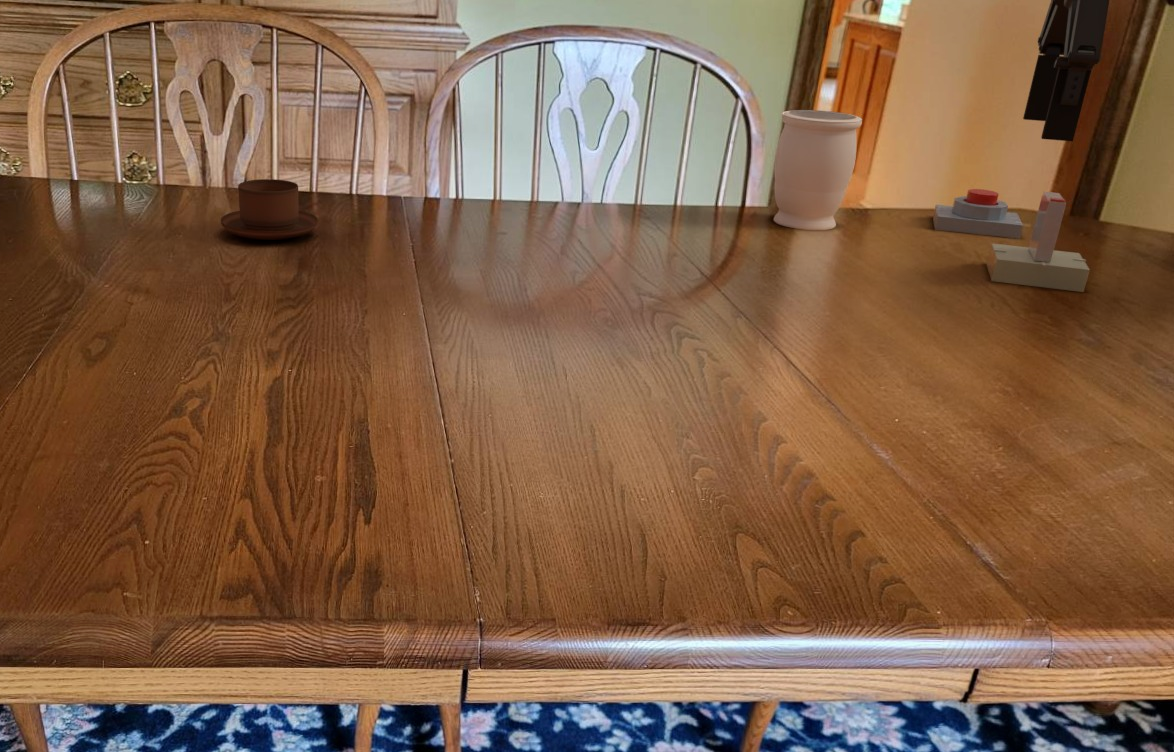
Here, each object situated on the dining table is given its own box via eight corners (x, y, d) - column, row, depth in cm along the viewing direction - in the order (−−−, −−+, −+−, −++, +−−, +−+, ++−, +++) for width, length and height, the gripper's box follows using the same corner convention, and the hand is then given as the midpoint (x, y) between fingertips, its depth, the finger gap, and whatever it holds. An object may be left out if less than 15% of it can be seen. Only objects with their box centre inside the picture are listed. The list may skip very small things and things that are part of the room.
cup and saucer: (205, 229, 140) (202, 180, 137) (289, 219, 146) (288, 172, 144) (248, 251, 131) (245, 199, 128) (335, 239, 138) (335, 190, 135)
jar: (787, 234, 149) (805, 120, 143) (752, 216, 158) (768, 108, 152) (857, 233, 152) (878, 121, 145) (819, 215, 161) (837, 109, 154)
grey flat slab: (1028, 248, 135) (1043, 189, 132) (1044, 250, 134) (1060, 191, 131) (1033, 260, 130) (1050, 199, 127) (1050, 262, 129) (1067, 200, 126)
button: (994, 203, 156) (997, 190, 155) (996, 208, 152) (999, 196, 152) (964, 200, 157) (967, 187, 156) (966, 205, 154) (968, 193, 153)
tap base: (1072, 274, 136) (1079, 249, 135) (1085, 297, 128) (1093, 270, 126) (984, 264, 139) (990, 239, 138) (990, 285, 130) (997, 259, 129)
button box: (1013, 228, 158) (1020, 200, 157) (1019, 240, 151) (1026, 211, 150) (932, 219, 161) (938, 192, 160) (934, 231, 154) (940, 203, 153)
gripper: (1042, -101, 115) (993, 110, 124) (1084, -111, 93) (1022, 145, 102) (1121, -99, 113) (1066, 115, 122) (1183, -109, 91) (1111, 152, 100)
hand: (1046, 129), depth 112 cm, fingers open, 13 cm apart
